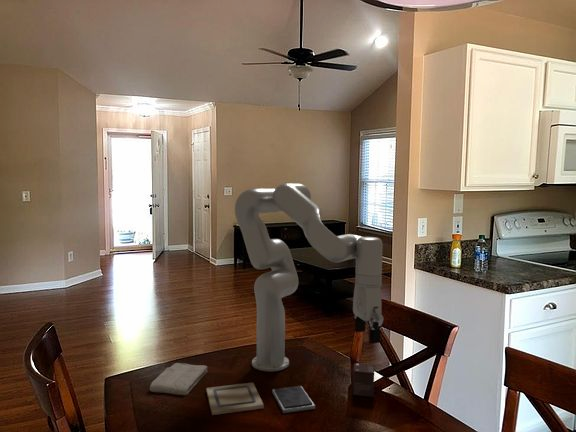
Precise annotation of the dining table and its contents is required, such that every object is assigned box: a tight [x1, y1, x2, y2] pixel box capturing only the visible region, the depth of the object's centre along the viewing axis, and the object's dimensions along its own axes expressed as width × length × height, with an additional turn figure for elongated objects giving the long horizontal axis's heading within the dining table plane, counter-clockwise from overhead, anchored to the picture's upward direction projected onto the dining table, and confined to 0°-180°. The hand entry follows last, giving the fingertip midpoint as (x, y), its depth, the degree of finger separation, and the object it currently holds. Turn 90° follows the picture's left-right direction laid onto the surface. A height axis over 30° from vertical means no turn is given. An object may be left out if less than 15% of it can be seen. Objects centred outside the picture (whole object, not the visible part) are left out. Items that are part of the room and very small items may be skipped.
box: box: [352, 363, 375, 397], centre depth 134 cm, size 6×6×7 cm
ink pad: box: [271, 385, 316, 414], centre depth 128 cm, size 12×9×1 cm
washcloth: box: [149, 362, 208, 396], centre depth 139 cm, size 12×18×3 cm, turn 170°
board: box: [206, 382, 265, 416], centre depth 128 cm, size 14×14×1 cm
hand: (367, 336), depth 132 cm, fingers open, 9 cm apart
